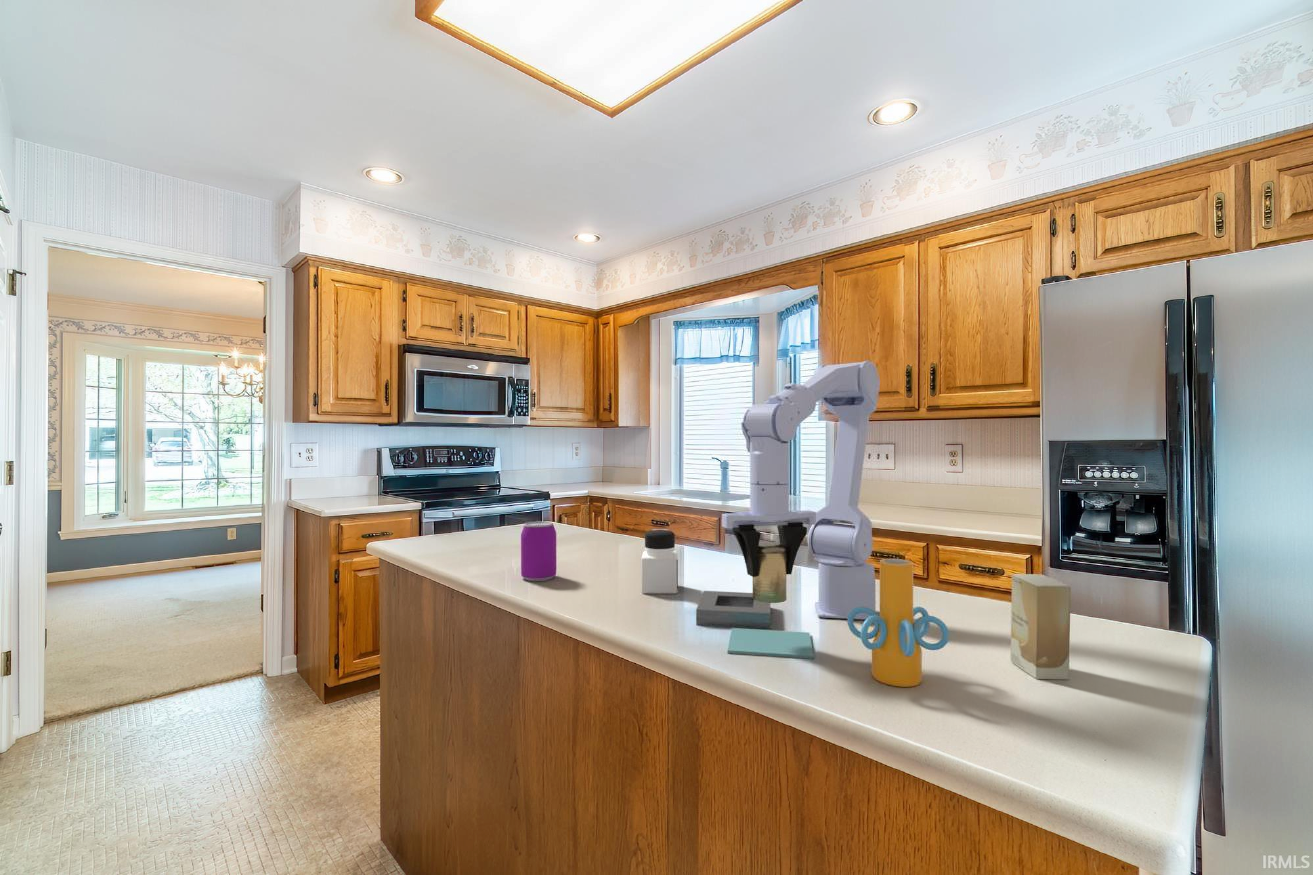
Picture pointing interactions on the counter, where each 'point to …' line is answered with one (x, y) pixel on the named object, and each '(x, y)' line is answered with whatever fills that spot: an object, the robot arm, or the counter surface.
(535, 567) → the beverage can
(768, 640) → the mat
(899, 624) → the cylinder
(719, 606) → the housing
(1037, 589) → the skincare box
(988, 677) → the counter surface
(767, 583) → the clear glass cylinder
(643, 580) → the medicine bottle
